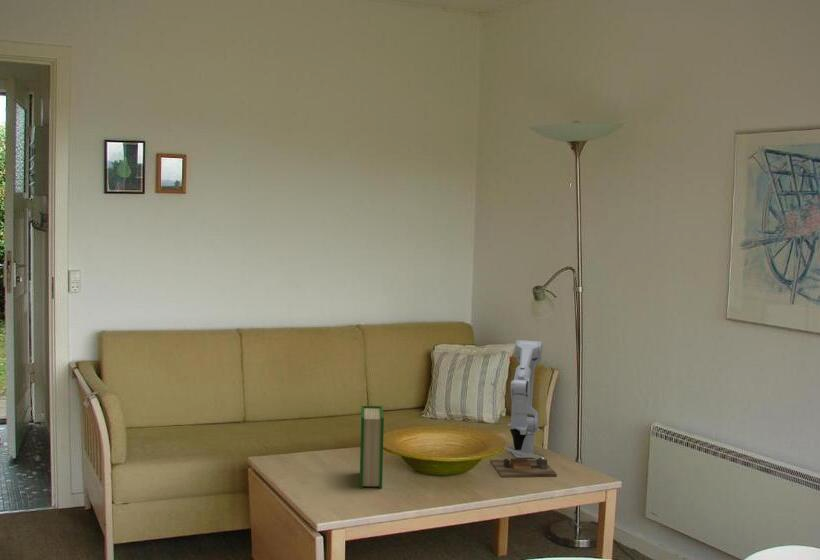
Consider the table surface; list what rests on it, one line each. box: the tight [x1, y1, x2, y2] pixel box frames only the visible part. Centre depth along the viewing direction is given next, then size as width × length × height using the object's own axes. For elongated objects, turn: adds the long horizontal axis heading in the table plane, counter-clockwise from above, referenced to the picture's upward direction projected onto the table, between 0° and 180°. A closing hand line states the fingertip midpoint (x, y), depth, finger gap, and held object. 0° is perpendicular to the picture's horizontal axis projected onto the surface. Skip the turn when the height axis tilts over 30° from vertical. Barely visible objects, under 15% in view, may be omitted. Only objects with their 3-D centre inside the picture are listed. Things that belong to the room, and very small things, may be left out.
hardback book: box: [359, 405, 385, 490], centre depth 306 cm, size 18×7×24 cm, turn 3°
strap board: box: [489, 454, 557, 478], centre depth 324 cm, size 18×20×4 cm
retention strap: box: [504, 445, 545, 460], centre depth 324 cm, size 4×15×1 cm, turn 97°
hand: (517, 449), depth 323 cm, fingers closed, pressing on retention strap
